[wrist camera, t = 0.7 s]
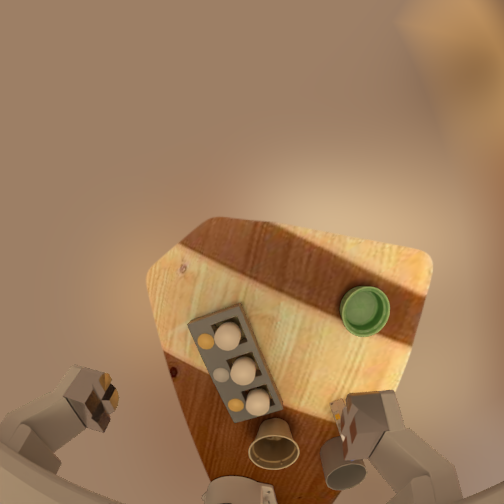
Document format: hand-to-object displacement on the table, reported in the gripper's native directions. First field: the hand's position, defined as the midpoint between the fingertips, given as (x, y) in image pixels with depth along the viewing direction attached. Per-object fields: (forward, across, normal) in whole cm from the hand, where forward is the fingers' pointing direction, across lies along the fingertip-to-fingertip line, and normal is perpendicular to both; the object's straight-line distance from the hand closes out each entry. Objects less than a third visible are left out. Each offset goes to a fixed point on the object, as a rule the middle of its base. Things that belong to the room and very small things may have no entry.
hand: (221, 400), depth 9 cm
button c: (+35, -7, -26) cm, 44 cm away
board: (+34, -6, -33) cm, 48 cm away
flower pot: (+29, +2, -48) cm, 56 cm away
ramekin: (+40, +17, -23) cm, 49 cm away
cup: (+27, +16, -54) cm, 63 cm away
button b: (+32, -4, -32) cm, 46 cm away
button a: (+30, -2, -38) cm, 48 cm away
